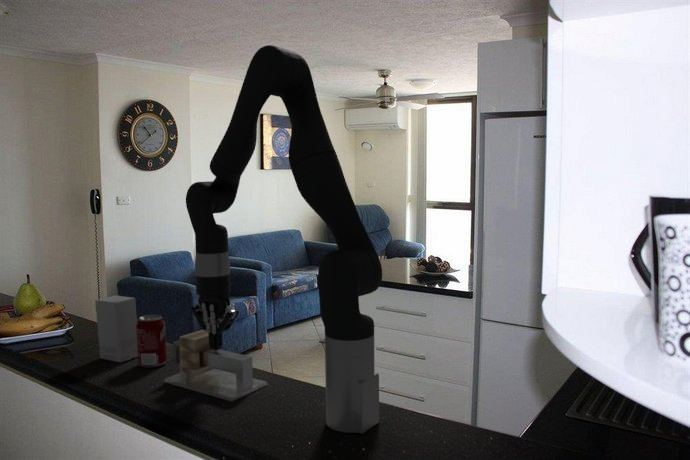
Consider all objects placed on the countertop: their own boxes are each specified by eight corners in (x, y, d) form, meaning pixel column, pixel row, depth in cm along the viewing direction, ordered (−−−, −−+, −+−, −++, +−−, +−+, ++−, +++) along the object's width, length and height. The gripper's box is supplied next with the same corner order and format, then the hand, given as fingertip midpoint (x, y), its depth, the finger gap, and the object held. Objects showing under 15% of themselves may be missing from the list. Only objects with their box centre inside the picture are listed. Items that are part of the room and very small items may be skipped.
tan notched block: (218, 367, 138) (217, 332, 137) (195, 375, 132) (194, 340, 131) (203, 363, 141) (202, 329, 140) (180, 371, 135) (179, 336, 134)
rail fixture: (267, 385, 133) (266, 348, 132) (231, 401, 123) (230, 361, 123) (200, 368, 144) (199, 334, 144) (163, 381, 135) (162, 345, 134)
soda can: (158, 370, 143) (156, 321, 142) (132, 368, 145) (130, 320, 144) (171, 361, 150) (169, 314, 149) (147, 359, 151) (145, 313, 150)
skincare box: (140, 356, 154) (137, 297, 152) (118, 364, 148) (115, 302, 147) (119, 351, 158) (116, 294, 157) (97, 358, 153) (94, 299, 151)
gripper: (246, 272, 130) (249, 349, 132) (204, 267, 138) (207, 340, 139) (222, 277, 124) (225, 358, 126) (179, 272, 132) (182, 348, 133)
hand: (215, 349), depth 133 cm, fingers closed
